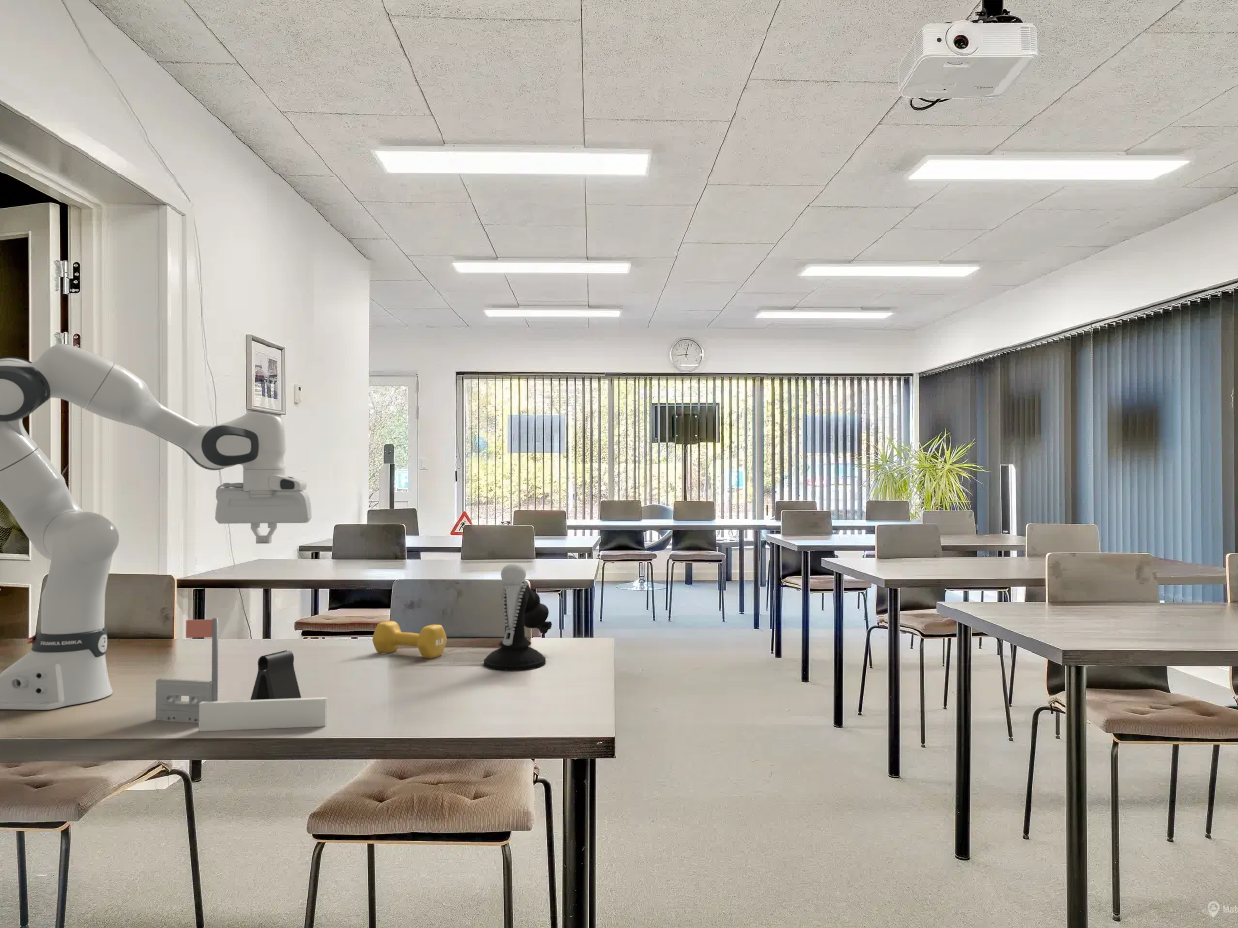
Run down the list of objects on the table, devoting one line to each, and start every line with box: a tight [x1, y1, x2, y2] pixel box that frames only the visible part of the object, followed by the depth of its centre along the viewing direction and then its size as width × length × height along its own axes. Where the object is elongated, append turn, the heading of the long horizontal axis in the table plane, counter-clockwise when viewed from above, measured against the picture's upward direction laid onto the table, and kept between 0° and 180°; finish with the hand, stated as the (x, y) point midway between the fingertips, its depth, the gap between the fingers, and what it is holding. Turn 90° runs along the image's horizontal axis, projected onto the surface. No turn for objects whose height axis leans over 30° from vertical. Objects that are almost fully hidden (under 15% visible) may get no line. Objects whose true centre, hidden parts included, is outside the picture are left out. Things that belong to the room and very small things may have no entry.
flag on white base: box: [185, 617, 328, 732], centre depth 154 cm, size 25×14×20 cm, turn 98°
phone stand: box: [249, 649, 302, 700], centre depth 156 cm, size 9×6×12 cm, turn 64°
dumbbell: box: [371, 620, 448, 659], centre depth 211 cm, size 19×9×8 cm, turn 66°
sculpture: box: [483, 562, 553, 672], centre depth 204 cm, size 15×24×25 cm, turn 157°
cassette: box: [155, 678, 212, 724], centre depth 153 cm, size 12×2×8 cm, turn 80°
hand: (263, 543), depth 184 cm, fingers closed
